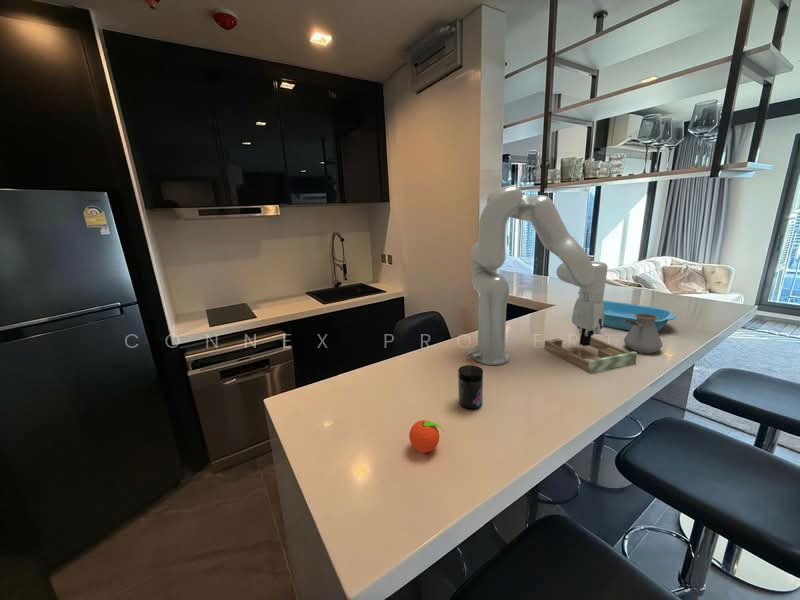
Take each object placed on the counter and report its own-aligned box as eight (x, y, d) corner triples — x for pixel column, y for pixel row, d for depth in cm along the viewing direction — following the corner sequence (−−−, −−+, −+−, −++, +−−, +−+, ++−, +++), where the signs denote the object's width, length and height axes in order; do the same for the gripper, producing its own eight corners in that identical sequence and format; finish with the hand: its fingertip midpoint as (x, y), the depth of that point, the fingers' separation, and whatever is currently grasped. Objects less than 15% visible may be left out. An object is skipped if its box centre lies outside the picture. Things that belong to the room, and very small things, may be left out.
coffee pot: (631, 341, 129) (636, 304, 125) (667, 350, 120) (673, 310, 116) (602, 355, 118) (607, 315, 115) (639, 366, 109) (645, 324, 105)
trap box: (590, 373, 107) (592, 362, 106) (544, 348, 127) (545, 338, 126) (635, 363, 111) (637, 352, 110) (583, 340, 132) (584, 331, 131)
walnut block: (609, 366, 111) (610, 355, 110) (597, 360, 115) (598, 349, 114) (621, 363, 112) (622, 353, 111) (608, 358, 117) (609, 347, 116)
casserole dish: (568, 321, 155) (569, 306, 154) (587, 310, 169) (588, 297, 168) (665, 341, 128) (668, 323, 126) (678, 326, 142) (681, 310, 140)
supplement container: (470, 413, 89) (470, 379, 86) (453, 402, 94) (453, 369, 92) (487, 405, 92) (488, 371, 90) (470, 395, 98) (470, 362, 95)
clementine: (443, 438, 80) (442, 412, 78) (445, 459, 73) (445, 431, 71) (410, 439, 80) (408, 413, 79) (409, 459, 74) (408, 432, 72)
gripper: (566, 293, 123) (561, 339, 128) (600, 303, 109) (593, 354, 114) (582, 291, 125) (577, 336, 130) (618, 301, 111) (610, 351, 116)
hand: (584, 344), depth 122 cm, fingers closed
